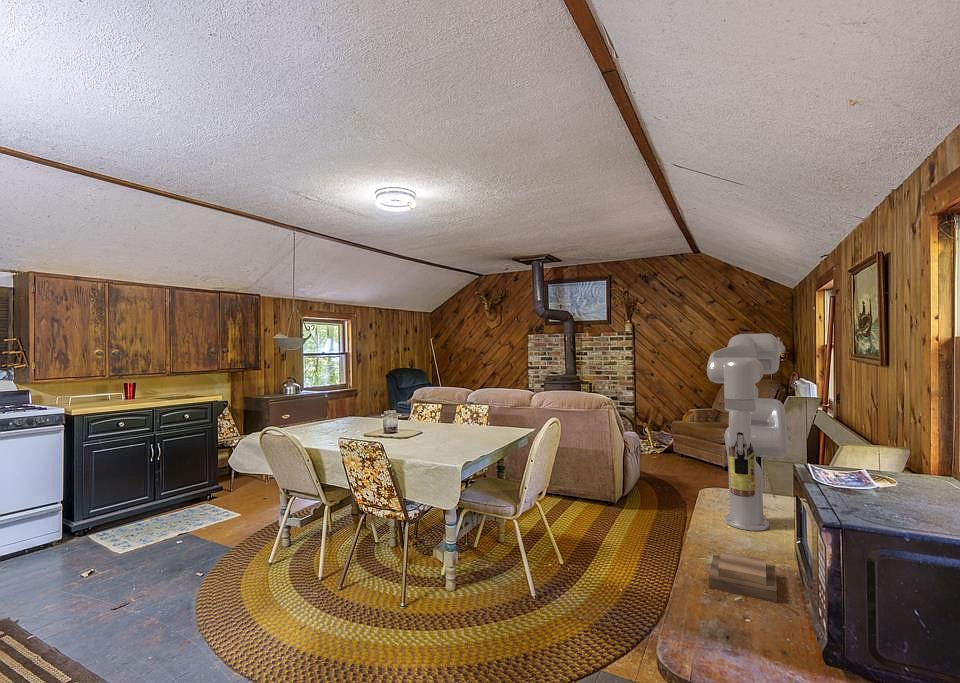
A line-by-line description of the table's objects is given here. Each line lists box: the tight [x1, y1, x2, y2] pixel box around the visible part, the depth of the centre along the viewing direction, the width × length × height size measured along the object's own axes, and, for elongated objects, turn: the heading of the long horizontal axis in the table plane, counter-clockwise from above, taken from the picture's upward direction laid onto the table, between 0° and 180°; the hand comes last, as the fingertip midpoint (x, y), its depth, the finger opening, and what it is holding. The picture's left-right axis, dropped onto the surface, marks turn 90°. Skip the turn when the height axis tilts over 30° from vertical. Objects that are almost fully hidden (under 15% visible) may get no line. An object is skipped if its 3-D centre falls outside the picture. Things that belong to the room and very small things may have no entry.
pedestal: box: [708, 551, 778, 603], centre depth 119 cm, size 14×14×4 cm
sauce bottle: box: [728, 433, 756, 497], centre depth 132 cm, size 6×6×20 cm
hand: (741, 469), depth 132 cm, fingers closed on sauce bottle, 6 cm apart
